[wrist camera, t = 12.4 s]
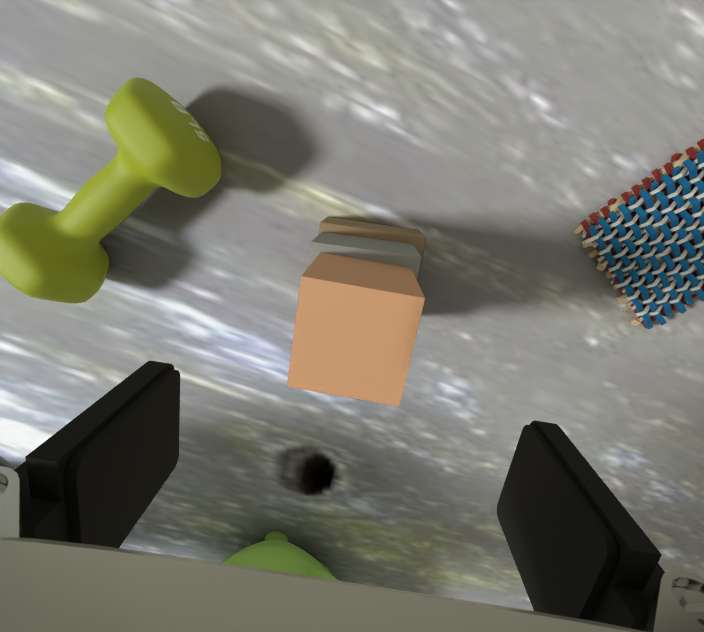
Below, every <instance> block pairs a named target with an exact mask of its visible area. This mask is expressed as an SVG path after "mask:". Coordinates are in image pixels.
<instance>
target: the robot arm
mask: <svg viewBox="0 0 704 632" xmlns="http://www.w3.org/2000/svg"><path fill="white" fill-rule="evenodd" d="M179 413H180V373H179V371H178V370H174V366H173V365H172V364H169V363H162V362H156V361H148V362H147V363H145V364H144V365H143V366H141V367H140V368H139V369H138V370H136V371H135V372H134V373H132V374H131V375H130V376H129V377H127V378H126V379H125V380H123V381H122V382H121V383H120V384H118V385H117V386H116V387H114V388H113V389H112V390H111V391H109V392H108V393H107V394H105V395H104V396H103V397H102V398H100V399H99V400H98V401H96V402H95V403H94V404H93V405H91V406H90V407H89V408H88V409H86V410H85V411H84V412H82V413H81V414H80V415H79V416H77V417H76V418H75V419H73V420H72V421H71V422H70V423H68V424H67V425H66V426H64V427H63V428H62V429H61V430H59V431H58V432H57V433H55V434H54V435H53V436H52V437H50V438H49V439H48V440H46V441H45V442H44V443H43V444H41V445H40V446H39V447H37V448H36V449H35V450H34V451H32V452H31V453H30V454H29V455H27V456H26V461H25V462H24V463H23V464H21V465H20V466H19V467H18V468H16V469H15V470H12V469H11V468H8V467H3V466H0V632H704V579H703V578H701V577H699V576H697V575H695V574H691V573H688V572H685V571H680V570H670V571H667V572H664V571H663V569H662V568H661V567H660V565H659V564H658V561H659V559H660V557H661V553H660V552H659V551H658V550H657V548H656V547H655V546H654V545H653V543H652V542H651V541H650V540H649V538H648V537H647V536H646V535H645V533H644V532H643V531H642V530H641V528H640V527H639V526H638V525H637V523H636V522H635V521H634V520H633V518H632V517H631V516H630V515H629V513H628V512H627V511H626V510H625V508H624V507H623V506H622V505H621V503H620V502H619V501H618V500H617V498H616V497H615V496H614V495H613V493H612V492H611V491H610V490H609V488H608V487H607V486H606V485H605V483H604V482H603V481H602V479H601V478H600V477H599V476H598V474H597V473H596V472H595V471H594V469H593V468H592V467H591V466H590V464H589V463H588V462H587V461H586V459H585V458H584V457H583V456H582V454H581V453H580V452H579V451H578V449H577V448H576V447H575V446H574V444H573V443H572V442H571V441H570V439H569V438H568V437H567V436H566V434H565V433H564V432H563V431H562V429H561V428H560V427H559V426H558V425H557V424H553V423H547V422H540V421H532V422H531V424H530V425H525V426H524V427H523V430H522V432H521V435H520V438H519V441H518V444H517V447H516V450H515V453H514V456H513V459H512V462H511V465H510V468H509V471H508V474H507V477H506V480H505V483H504V486H503V489H502V492H501V495H500V498H499V501H498V505H497V515H498V519H499V522H500V524H501V527H502V530H503V532H504V535H505V537H506V540H507V542H508V545H509V547H510V550H511V553H512V555H513V558H514V560H515V563H516V565H517V568H518V570H519V573H520V576H521V578H522V581H523V583H524V586H525V588H526V591H527V594H528V596H529V599H530V601H531V604H532V606H533V609H534V611H530V610H523V609H517V608H511V607H504V606H498V605H492V604H486V603H479V602H473V601H467V600H460V599H454V598H448V597H442V596H435V595H429V594H423V593H416V592H410V591H403V590H397V589H390V588H384V587H377V586H371V585H364V584H358V583H351V582H345V581H338V580H332V579H325V578H319V577H312V576H305V575H299V574H292V573H286V572H279V571H272V570H265V569H259V568H252V567H245V566H238V565H231V564H224V563H218V562H211V561H204V560H197V559H190V558H183V557H177V556H170V555H163V554H156V553H149V552H142V551H135V550H128V549H121V548H119V547H120V546H121V544H122V543H123V541H124V540H125V538H126V537H127V536H128V534H129V533H130V531H131V530H132V528H133V527H134V525H135V524H136V523H137V521H138V520H139V518H140V517H141V515H142V514H143V513H144V511H145V510H146V508H147V507H148V505H149V504H150V503H151V501H152V500H153V498H154V497H155V495H156V494H157V493H158V491H159V490H160V488H161V487H162V485H163V484H164V482H165V481H166V480H167V478H168V477H169V475H170V474H171V472H172V471H173V470H174V468H175V466H176V464H177V461H178V457H179Z"/></svg>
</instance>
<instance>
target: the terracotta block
mask: <svg viewBox="0 0 704 632" xmlns="http://www.w3.org/2000/svg"><path fill="white" fill-rule="evenodd" d="M424 301H425V297H424V295H423V293H422V291H421V288H420V286H419V284H418V282H417V280H416V278H415V276H414V273H413V271H412V269H411V268H406V267H400V266H395V265H389V264H384V263H378V262H372V261H367V260H361V259H356V258H350V257H344V256H339V255H333V254H328V253H322V252H320V253H319V255H318V256H317V257H316V259H315V260H314V261H313V262H312V264H311V265H310V266H309V267H308V269H307V270H306V271H305V272H304V274H303V275H302V276H301V283H300V291H299V299H298V306H297V314H296V321H295V329H294V337H293V344H292V352H291V360H290V367H289V375H288V382H287V387H293V388H298V389H304V390H310V391H315V392H321V393H327V394H332V395H338V396H344V397H349V398H355V399H361V400H366V401H372V402H378V403H383V404H389V405H395V406H399V405H400V401H401V397H402V393H403V389H404V384H405V380H406V376H407V372H408V368H409V364H410V359H411V355H412V351H413V347H414V343H415V338H416V334H417V330H418V326H419V322H420V317H421V313H422V309H423V305H424Z"/></svg>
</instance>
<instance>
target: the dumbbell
mask: <svg viewBox="0 0 704 632" xmlns="http://www.w3.org/2000/svg"><path fill="white" fill-rule="evenodd" d="M105 120H106V124H107V127H108V130H109V132H110V134H111V136H112V138H113V139H114V141H115V142H116V144H117V146H118V152H117V155H116V156H115V158H114V159H113V160H112V161H111V162H110V163H108V164H107V165H106V166H105V167H104V168H102V169H101V170H100V171H99V172H98V173H97V174H95V175H94V176H93V177H92V178H91V179H90V180H89V181H87V182H86V183H85V184H84V185H83V187H82V188H81V189H80V190H79V191H78V192H77V194H76V195H75V196H74V197H73V198H72V200H71V201H70V202H69V203H68V205H67V206H66V207H65V208H64V209H63V210H62V211H61V212H57V211H54V210H51V209H48V208H45V207H42V206H39V205H35V204H31V203H18V204H15V205H13V206H12V207H10V208H9V209H7V210H6V211H5V212H4V213H3V214H2V215H1V216H0V274H1V275H2V276H3V277H4V278H5V279H6V280H7V281H8V282H9V283H10V284H11V285H12V286H14V287H15V288H16V289H17V290H19V291H20V292H22V293H24V294H26V295H28V296H31V297H35V298H39V299H44V300H50V301H57V302H65V303H82V302H85V301H87V300H88V299H90V298H91V297H92V296H93V295H94V294H95V293H96V292H97V291H98V290H99V289H100V287H101V286H102V284H103V282H104V280H105V277H106V275H107V272H108V268H109V257H108V254H107V253H106V251H105V250H104V248H103V247H102V245H101V244H100V243H99V241H100V240H101V239H102V238H103V237H105V236H106V235H107V234H109V233H110V232H111V231H112V230H113V229H114V228H116V227H117V226H118V225H119V224H120V223H121V222H122V221H123V220H125V219H126V218H127V217H128V216H129V215H130V214H131V213H132V212H133V211H134V210H135V209H136V208H137V207H138V206H139V205H140V204H141V203H142V202H143V200H144V199H145V198H146V197H147V196H148V195H149V194H150V193H151V192H152V191H153V190H154V189H156V188H158V187H165V188H167V189H169V190H171V191H173V192H175V193H177V194H180V195H183V196H186V197H192V198H197V197H201V196H202V195H204V194H206V193H207V192H208V191H210V190H211V189H212V188H213V187H214V186H215V185H216V184H217V183H218V182H219V180H220V177H221V158H220V155H219V152H218V150H217V148H216V146H215V145H214V143H213V142H212V140H211V139H210V137H209V136H208V134H207V133H206V132H205V131H204V129H203V128H202V127H201V125H200V124H199V123H198V122H197V121H196V119H195V118H194V117H193V116H192V115H191V114H190V113H189V112H188V111H187V110H186V109H185V108H184V107H183V106H182V105H181V104H180V103H179V102H177V101H176V100H175V99H174V98H172V97H171V96H170V95H169V94H167V93H166V92H165V91H164V90H162V89H161V88H160V87H158V86H157V85H155V84H154V83H152V82H150V81H148V80H146V79H143V78H133V79H130V80H129V81H128V82H126V83H125V84H124V85H123V86H122V87H121V88H120V89H119V91H118V92H117V93H116V94H115V95H114V96H113V98H112V99H111V101H110V102H109V104H108V106H107V108H106V112H105Z"/></svg>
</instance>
